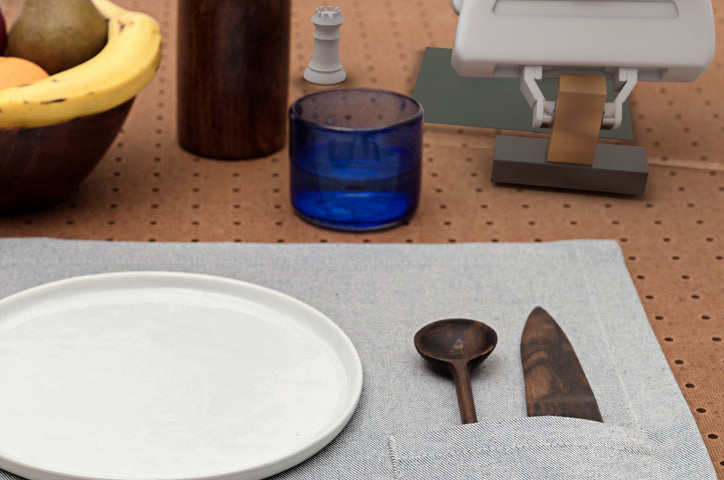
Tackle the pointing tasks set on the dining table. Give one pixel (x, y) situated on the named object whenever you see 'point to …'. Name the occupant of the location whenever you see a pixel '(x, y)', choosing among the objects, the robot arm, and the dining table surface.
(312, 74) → the rook chess piece
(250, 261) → the dining table surface
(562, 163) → the duster
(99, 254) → the dining table surface
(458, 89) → the slate board
